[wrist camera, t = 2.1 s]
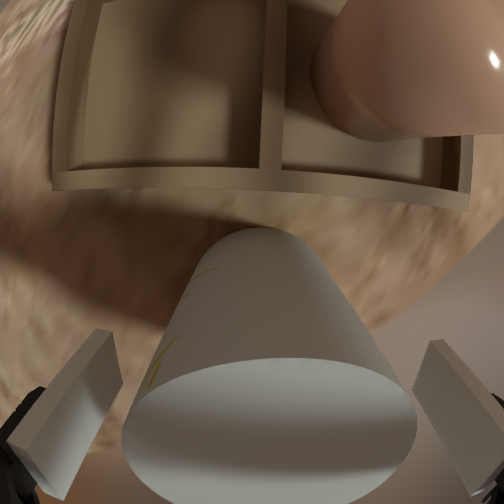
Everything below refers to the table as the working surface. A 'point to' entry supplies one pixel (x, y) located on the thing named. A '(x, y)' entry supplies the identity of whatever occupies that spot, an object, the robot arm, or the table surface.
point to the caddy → (225, 107)
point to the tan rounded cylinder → (413, 69)
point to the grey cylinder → (266, 386)
